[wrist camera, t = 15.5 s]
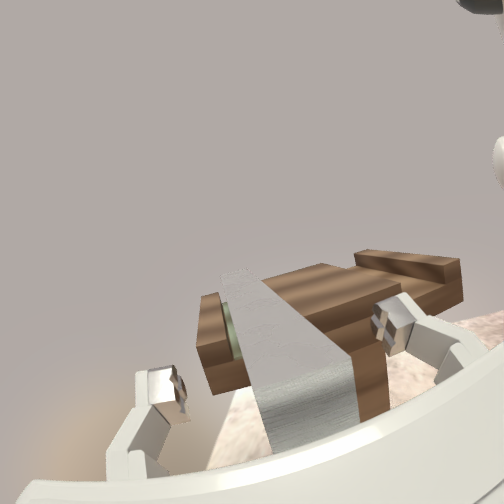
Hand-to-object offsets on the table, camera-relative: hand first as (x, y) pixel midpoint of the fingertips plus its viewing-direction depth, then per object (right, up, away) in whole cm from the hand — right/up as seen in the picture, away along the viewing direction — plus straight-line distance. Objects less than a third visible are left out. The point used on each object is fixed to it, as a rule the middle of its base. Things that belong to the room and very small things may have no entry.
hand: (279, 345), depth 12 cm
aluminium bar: (-1, -2, +10) cm, 10 cm away
